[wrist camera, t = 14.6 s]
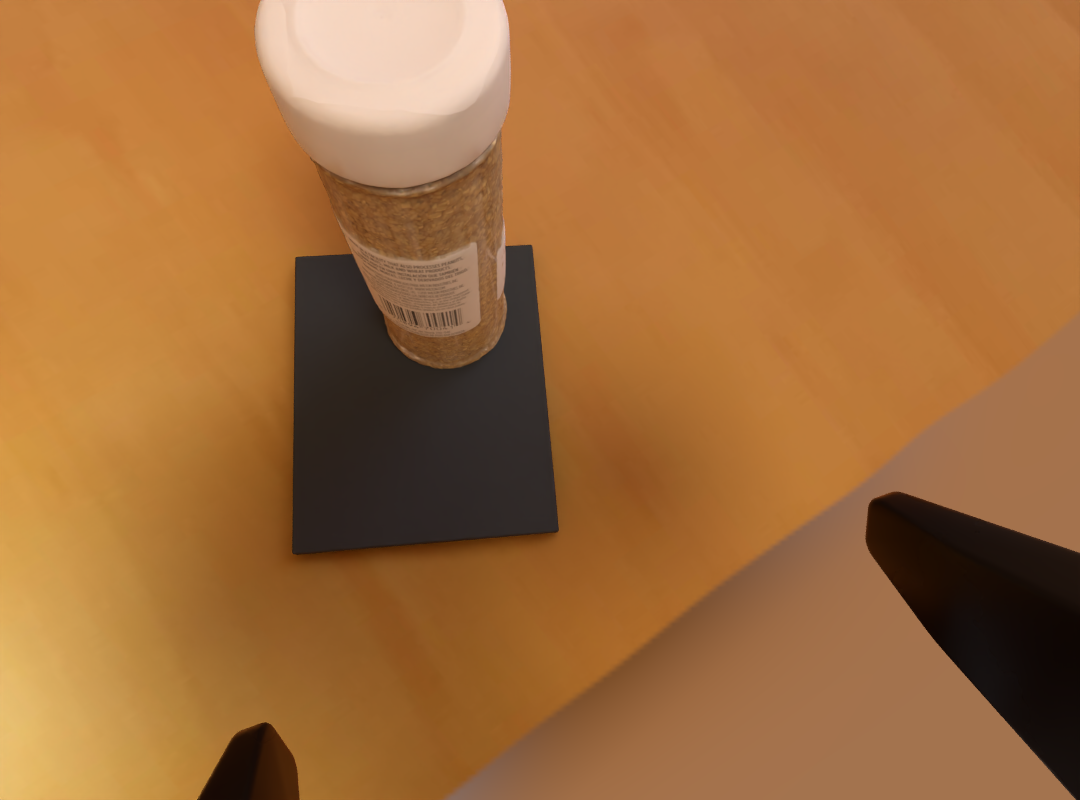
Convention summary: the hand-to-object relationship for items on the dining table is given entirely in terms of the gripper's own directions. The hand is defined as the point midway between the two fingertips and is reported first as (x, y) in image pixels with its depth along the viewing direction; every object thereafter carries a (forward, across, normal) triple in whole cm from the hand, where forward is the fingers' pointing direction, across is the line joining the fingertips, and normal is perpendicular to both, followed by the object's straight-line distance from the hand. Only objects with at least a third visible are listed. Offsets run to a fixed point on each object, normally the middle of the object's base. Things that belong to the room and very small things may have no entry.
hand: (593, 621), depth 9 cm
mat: (+15, +2, +4) cm, 16 cm away
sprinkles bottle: (+17, 0, +2) cm, 17 cm away
